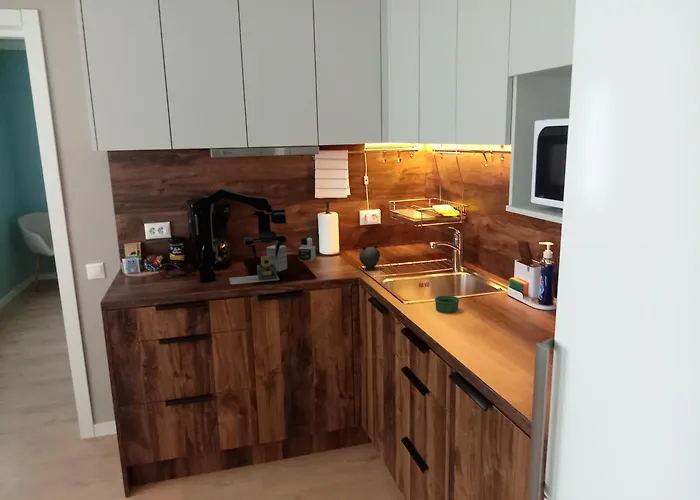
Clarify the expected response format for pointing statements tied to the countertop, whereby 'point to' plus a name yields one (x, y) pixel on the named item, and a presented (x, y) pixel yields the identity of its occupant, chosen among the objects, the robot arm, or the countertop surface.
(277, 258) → the supplement box
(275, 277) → the collar stand
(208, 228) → the robot arm
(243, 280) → the white board
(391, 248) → the countertop surface
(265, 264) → the beige tall block
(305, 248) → the medicine bottle
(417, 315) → the countertop surface
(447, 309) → the ramekin
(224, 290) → the countertop surface
